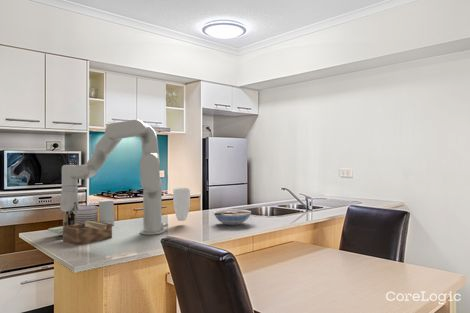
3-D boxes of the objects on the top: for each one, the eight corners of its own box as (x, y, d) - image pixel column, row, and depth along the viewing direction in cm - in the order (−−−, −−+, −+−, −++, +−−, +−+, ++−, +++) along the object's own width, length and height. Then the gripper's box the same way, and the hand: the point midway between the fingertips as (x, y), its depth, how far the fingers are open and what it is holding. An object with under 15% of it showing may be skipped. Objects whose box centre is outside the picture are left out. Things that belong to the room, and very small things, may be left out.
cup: (169, 226, 208) (169, 189, 208) (178, 222, 218) (178, 187, 218) (185, 227, 204) (184, 189, 204) (193, 224, 214) (193, 188, 214)
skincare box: (114, 223, 216) (113, 199, 216) (114, 225, 210) (114, 200, 210) (99, 224, 213) (99, 199, 213) (98, 226, 207) (98, 201, 207)
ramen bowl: (245, 219, 228) (245, 207, 228) (259, 226, 206) (259, 212, 206) (207, 222, 220) (207, 209, 220) (217, 229, 198) (217, 214, 198)
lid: (78, 225, 195) (78, 210, 195) (90, 227, 188) (90, 212, 188) (47, 230, 182) (47, 214, 182) (59, 233, 175) (59, 217, 175)
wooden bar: (88, 226, 166) (88, 220, 166) (106, 229, 158) (106, 224, 158) (85, 226, 165) (85, 221, 165) (103, 230, 156) (103, 224, 156)
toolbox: (96, 234, 187) (95, 217, 187) (112, 238, 178) (112, 219, 178) (62, 241, 172) (62, 222, 172) (78, 245, 164) (78, 225, 164)
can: (99, 225, 212) (99, 204, 212) (95, 228, 201) (95, 207, 201) (79, 225, 210) (79, 205, 210) (73, 229, 199) (73, 208, 199)
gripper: (54, 188, 187) (54, 223, 187) (71, 190, 177) (71, 227, 177) (68, 187, 193) (68, 221, 193) (85, 189, 183) (85, 225, 183)
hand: (69, 224), depth 185 cm, fingers closed on lid
